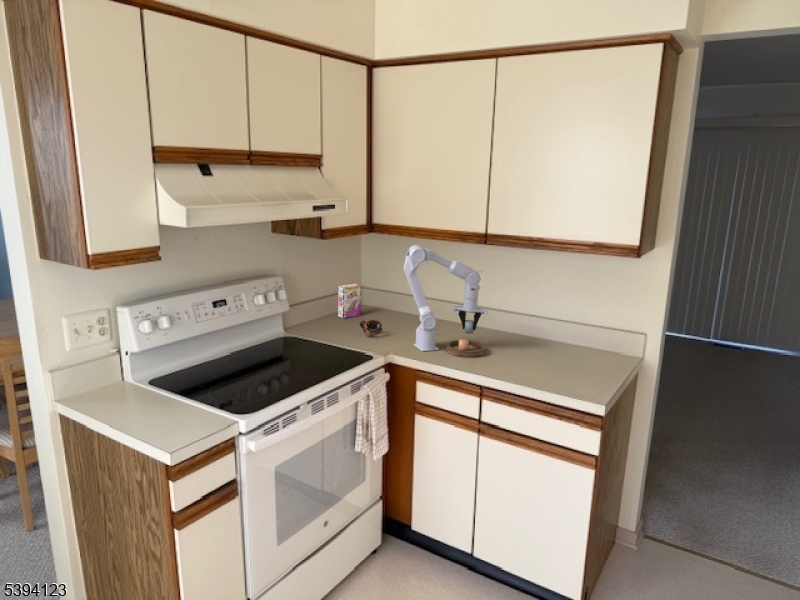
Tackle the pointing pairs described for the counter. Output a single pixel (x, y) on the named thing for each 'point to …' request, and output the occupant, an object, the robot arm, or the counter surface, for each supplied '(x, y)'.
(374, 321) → the pottery mug
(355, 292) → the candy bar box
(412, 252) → the robot arm
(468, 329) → the slate bead
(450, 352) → the walnut groove tray
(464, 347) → the peach rounded cylinder
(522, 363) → the counter surface
